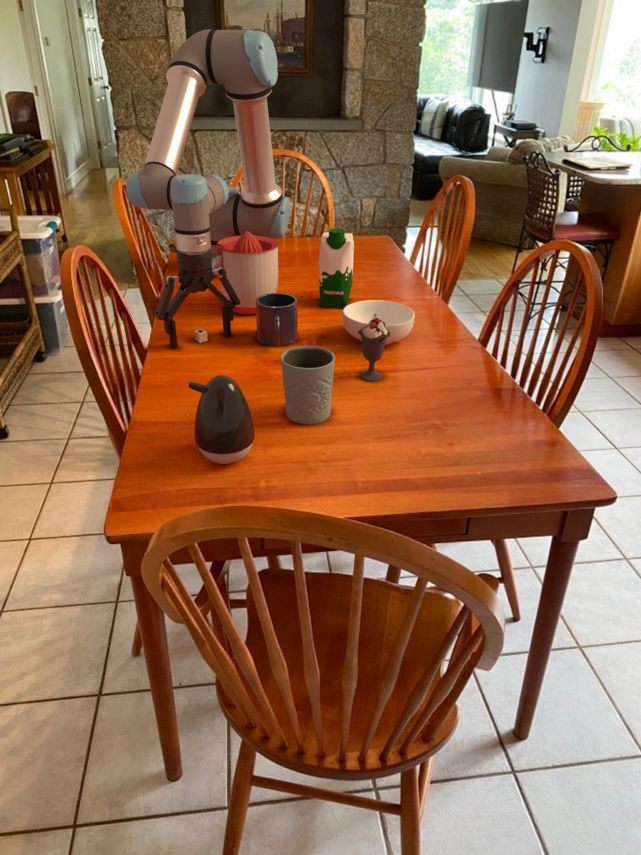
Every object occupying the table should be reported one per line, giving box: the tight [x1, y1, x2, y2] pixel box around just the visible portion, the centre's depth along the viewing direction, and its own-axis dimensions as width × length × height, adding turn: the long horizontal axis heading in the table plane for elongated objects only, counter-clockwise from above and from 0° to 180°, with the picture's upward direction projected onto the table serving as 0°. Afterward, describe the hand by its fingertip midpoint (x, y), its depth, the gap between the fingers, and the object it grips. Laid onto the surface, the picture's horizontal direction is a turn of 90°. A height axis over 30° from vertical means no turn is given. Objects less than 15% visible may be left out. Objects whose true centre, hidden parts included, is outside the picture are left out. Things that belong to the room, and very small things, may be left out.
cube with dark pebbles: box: [194, 328, 209, 344], centre depth 156 cm, size 2×2×2 cm
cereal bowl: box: [342, 299, 416, 346], centre depth 157 cm, size 17×17×7 cm
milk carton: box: [318, 228, 355, 309], centre depth 174 cm, size 9×9×20 cm
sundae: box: [358, 313, 390, 382], centre depth 138 cm, size 7×7×15 cm
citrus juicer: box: [212, 231, 280, 315], centre depth 170 cm, size 16×17×20 cm
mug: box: [255, 292, 298, 347], centre depth 155 cm, size 13×10×10 cm
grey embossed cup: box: [280, 345, 336, 425], centre depth 125 cm, size 10×10×12 cm
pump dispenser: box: [187, 374, 256, 465], centre depth 111 cm, size 10×10×15 cm
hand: (201, 340), depth 157 cm, fingers open, 13 cm apart
